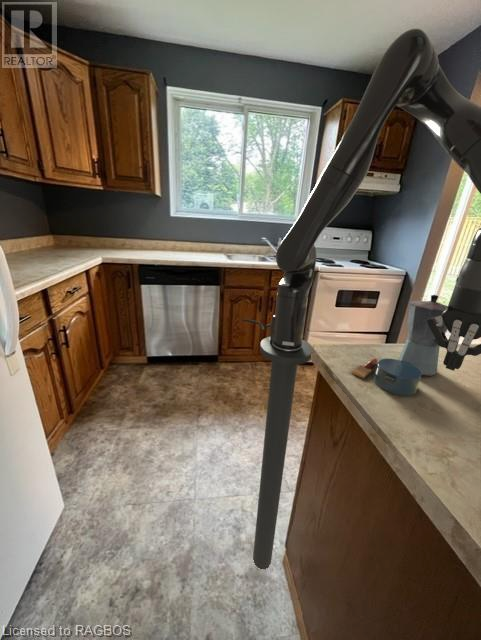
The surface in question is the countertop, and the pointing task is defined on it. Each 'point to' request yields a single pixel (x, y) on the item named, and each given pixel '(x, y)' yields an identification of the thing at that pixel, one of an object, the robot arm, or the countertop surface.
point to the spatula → (364, 369)
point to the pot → (397, 376)
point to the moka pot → (423, 336)
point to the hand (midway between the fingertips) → (450, 368)
